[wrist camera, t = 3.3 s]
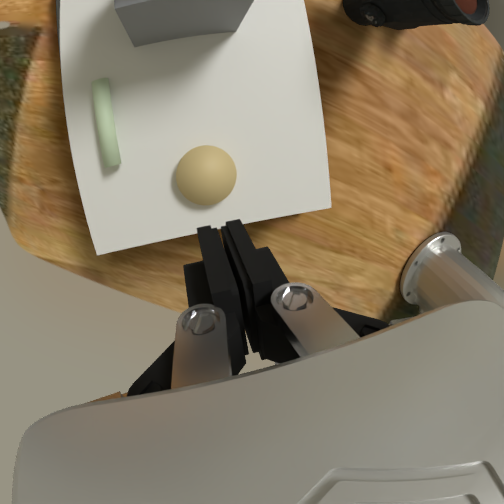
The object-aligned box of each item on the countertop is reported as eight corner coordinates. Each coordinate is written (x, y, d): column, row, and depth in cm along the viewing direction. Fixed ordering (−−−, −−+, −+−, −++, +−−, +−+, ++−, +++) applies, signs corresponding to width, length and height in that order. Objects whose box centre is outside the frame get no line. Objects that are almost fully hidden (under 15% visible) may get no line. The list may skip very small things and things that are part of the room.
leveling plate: (323, 203, 24) (415, 253, 14) (101, 248, 22) (50, 334, 11) (286, -39, 16) (348, -113, 6) (66, -8, 13) (10, -75, 3)
